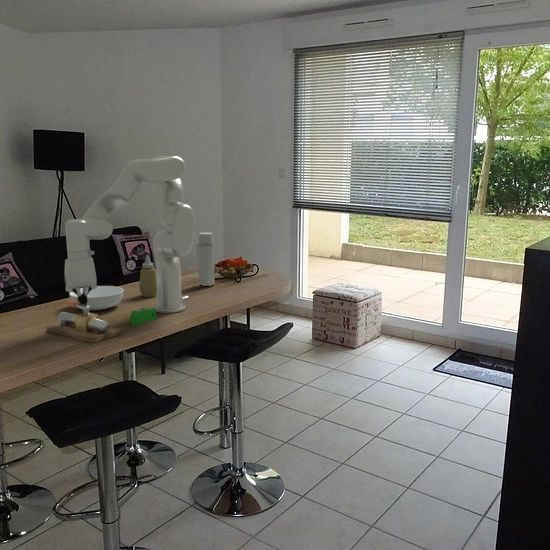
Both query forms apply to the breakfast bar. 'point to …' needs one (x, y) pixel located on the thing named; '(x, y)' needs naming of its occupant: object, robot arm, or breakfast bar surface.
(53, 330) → the valve stand
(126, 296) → the breakfast bar surface
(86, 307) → the valve lever
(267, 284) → the breakfast bar surface
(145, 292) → the squeeze bottle
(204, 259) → the water bottle
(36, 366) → the breakfast bar surface
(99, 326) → the valve and pipe
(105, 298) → the serving bowl
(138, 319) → the pipe clamp
